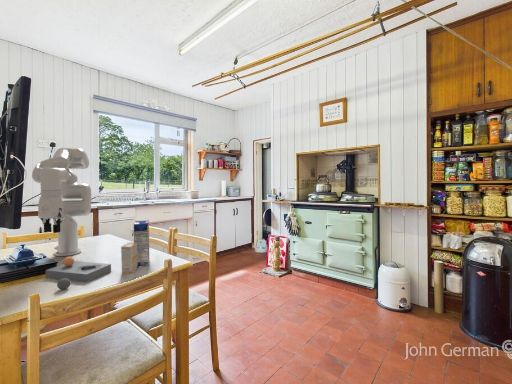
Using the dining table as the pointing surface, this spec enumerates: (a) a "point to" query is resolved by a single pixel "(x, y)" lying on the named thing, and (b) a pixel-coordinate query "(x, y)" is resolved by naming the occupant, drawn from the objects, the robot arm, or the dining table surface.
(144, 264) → the beverage box
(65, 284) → the ball
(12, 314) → the dining table surface
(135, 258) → the supplement box
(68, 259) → the ball
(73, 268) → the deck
